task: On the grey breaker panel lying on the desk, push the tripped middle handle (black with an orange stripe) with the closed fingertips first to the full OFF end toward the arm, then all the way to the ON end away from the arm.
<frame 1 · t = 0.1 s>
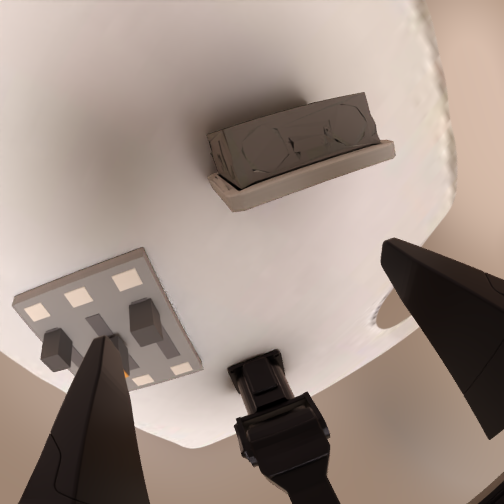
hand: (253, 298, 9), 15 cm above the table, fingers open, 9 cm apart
panel: (113, 335, 28), on the table
electrical switch: (258, 131, 22), on the table
tripped breaker: (112, 359, 25), point 3 cm above the table, slide at 3.5 cm
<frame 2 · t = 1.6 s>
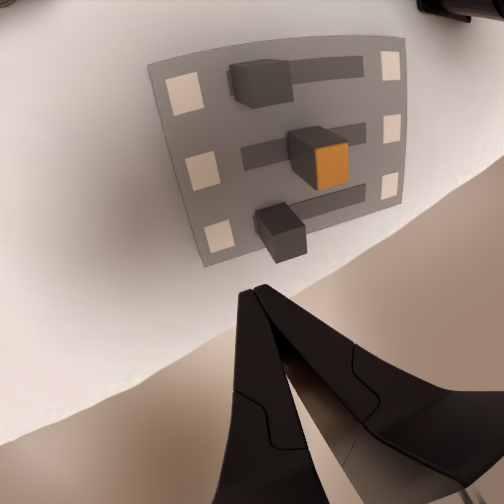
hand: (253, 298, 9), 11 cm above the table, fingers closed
panel: (300, 138, 19), on the table
tripped breaker: (318, 156, 17), point 3 cm above the table, slide at 3.5 cm
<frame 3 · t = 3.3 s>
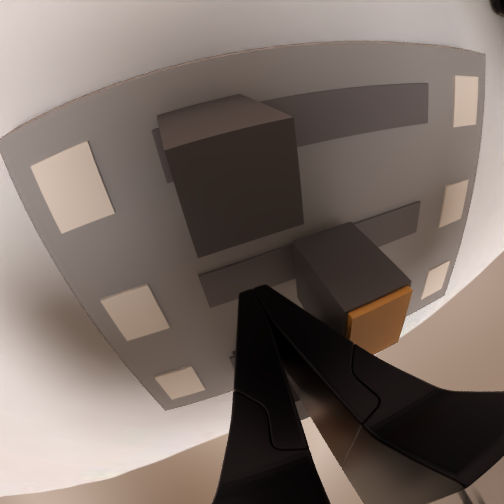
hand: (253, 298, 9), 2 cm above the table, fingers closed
panel: (309, 231, 12), on the table
tripped breaker: (348, 293, 9), point 3 cm above the table, slide at 3.3 cm, touching gripper
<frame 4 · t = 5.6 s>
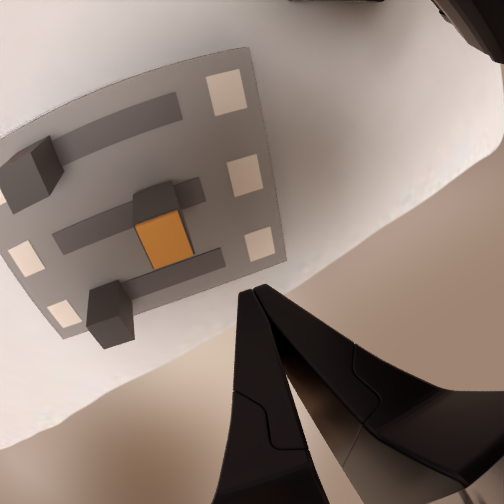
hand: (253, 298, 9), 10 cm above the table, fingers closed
panel: (126, 206, 16), on the table
tripped breaker: (162, 223, 14), point 3 cm above the table, slide at 1.1 cm
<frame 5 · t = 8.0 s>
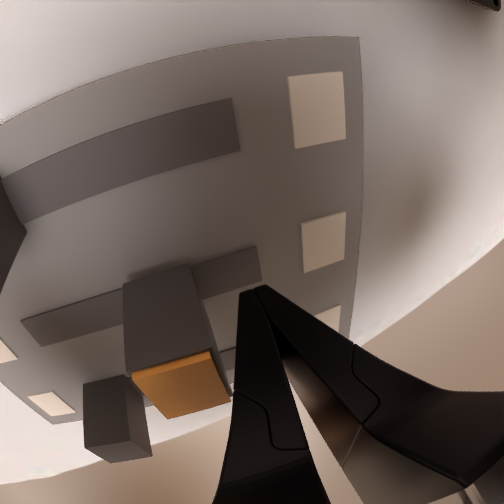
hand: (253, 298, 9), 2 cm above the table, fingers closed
panel: (132, 278, 11), on the table
tripped breaker: (175, 343, 8), point 3 cm above the table, slide at 1.9 cm, touching gripper
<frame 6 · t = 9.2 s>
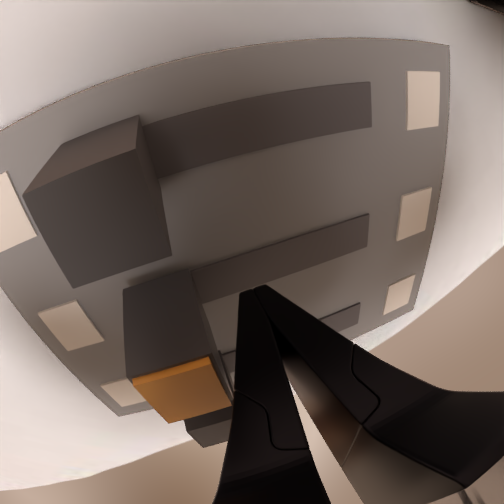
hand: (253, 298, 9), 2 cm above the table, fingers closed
panel: (244, 246, 11), on the table
tripped breaker: (175, 347, 8), point 3 cm above the table, slide at 6.0 cm, touching gripper
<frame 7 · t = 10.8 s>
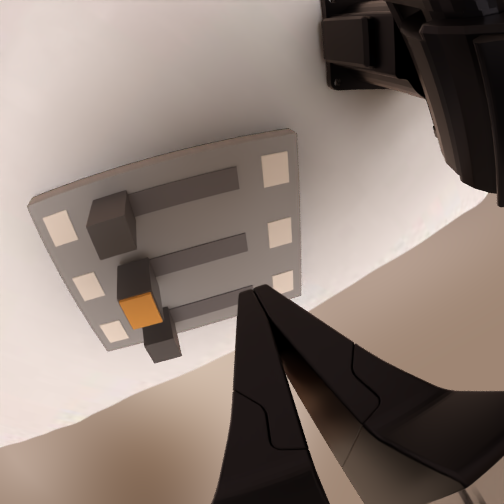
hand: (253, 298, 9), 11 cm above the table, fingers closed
panel: (180, 248, 21), on the table
tripped breaker: (139, 293, 18), point 3 cm above the table, slide at 6.0 cm
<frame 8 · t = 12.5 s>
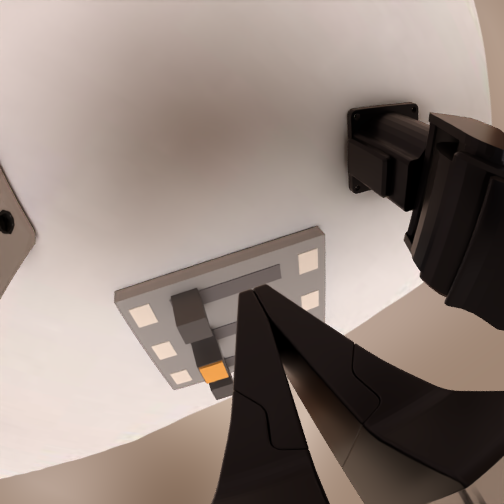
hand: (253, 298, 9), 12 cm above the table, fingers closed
panel: (234, 316, 27), on the table
tripped breaker: (209, 357, 24), point 3 cm above the table, slide at 6.0 cm
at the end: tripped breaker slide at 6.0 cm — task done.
